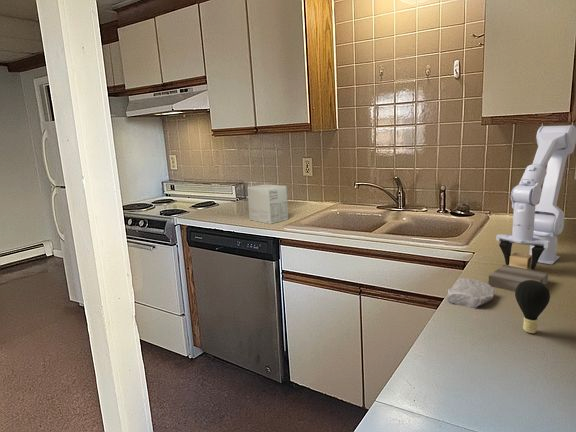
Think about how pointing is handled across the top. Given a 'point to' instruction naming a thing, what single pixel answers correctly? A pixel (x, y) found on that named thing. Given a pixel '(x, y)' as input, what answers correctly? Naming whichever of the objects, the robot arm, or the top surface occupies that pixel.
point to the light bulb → (532, 302)
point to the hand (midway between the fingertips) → (520, 266)
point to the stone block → (470, 293)
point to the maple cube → (521, 260)
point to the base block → (514, 277)
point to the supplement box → (268, 203)
